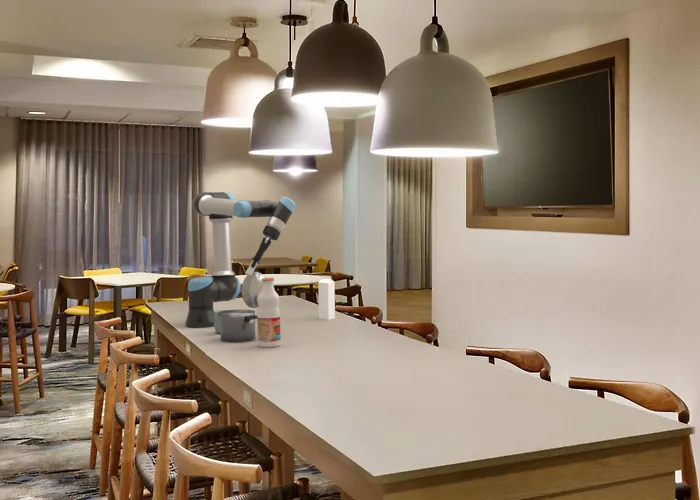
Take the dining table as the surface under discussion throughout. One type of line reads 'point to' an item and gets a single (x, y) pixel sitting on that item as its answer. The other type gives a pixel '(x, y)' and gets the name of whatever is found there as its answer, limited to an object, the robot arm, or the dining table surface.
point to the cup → (217, 320)
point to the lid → (252, 289)
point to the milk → (326, 298)
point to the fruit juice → (268, 315)
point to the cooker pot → (237, 325)
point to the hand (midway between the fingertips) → (248, 274)
